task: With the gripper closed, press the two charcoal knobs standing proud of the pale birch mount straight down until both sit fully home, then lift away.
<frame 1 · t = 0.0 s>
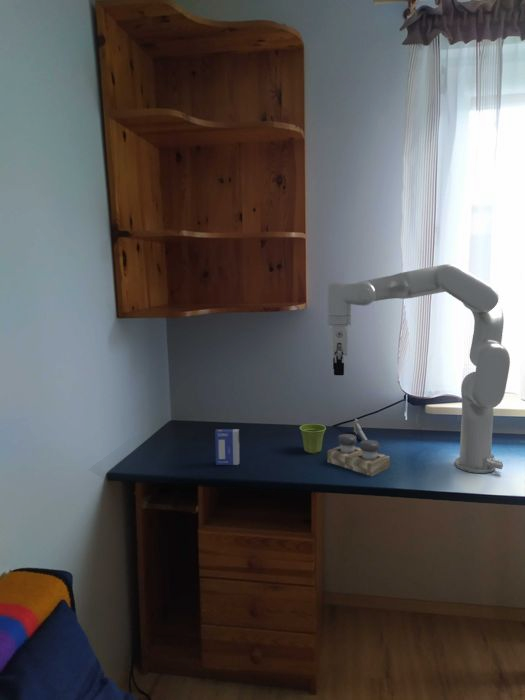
hand: (338, 372, 176), 31 cm above the table, tool pointing down, fingers open, 9 cm apart
blue upright box: (227, 464, 181), on the table
plant pot: (312, 451, 193), on the table
mount: (357, 464, 179), on the table
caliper: (362, 441, 204), on the table
knob near: (369, 452, 174), point 6 cm above the table, slide at 0.0 cm
knob far: (347, 445, 181), point 6 cm above the table, slide at 0.0 cm
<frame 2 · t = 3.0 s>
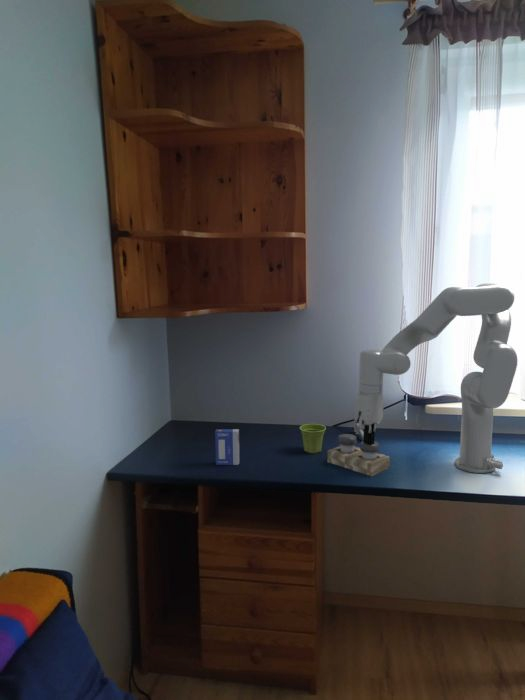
hand: (368, 443, 174), 9 cm above the table, tool pointing down, fingers closed
knob near: (369, 452, 175), point 5 cm above the table, slide at 0.2 cm, touching gripper
everything else where it was.
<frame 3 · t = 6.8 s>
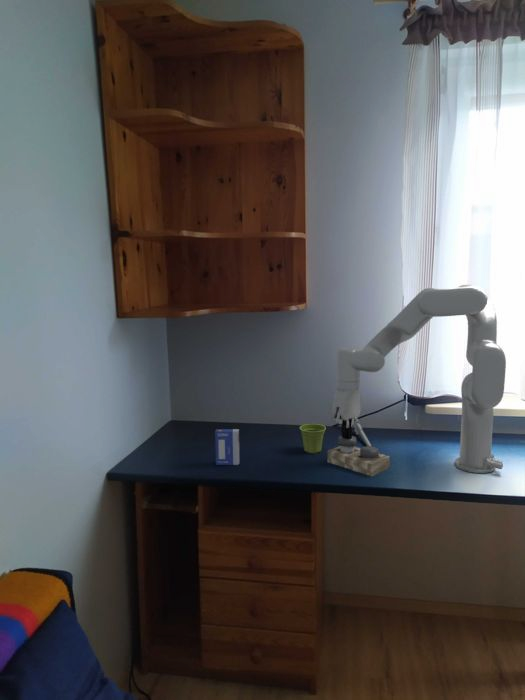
hand: (346, 437, 181), 8 cm above the table, tool pointing down, fingers closed
knob near: (369, 458, 175), point 3 cm above the table, slide at 2.2 cm
knob far: (347, 447, 181), point 5 cm above the table, slide at 0.5 cm, touching gripper
everything else where it was.
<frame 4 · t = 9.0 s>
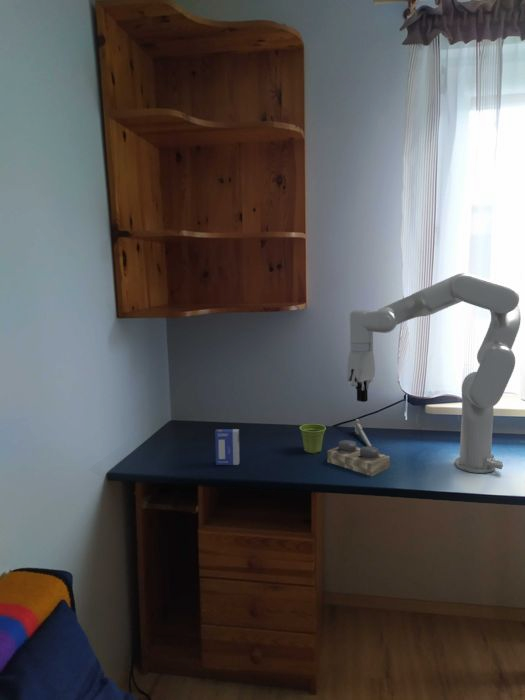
hand: (362, 400, 180), 21 cm above the table, tool pointing down, fingers closed
knob far: (347, 452, 181), point 3 cm above the table, slide at 2.2 cm
everything else where it was.
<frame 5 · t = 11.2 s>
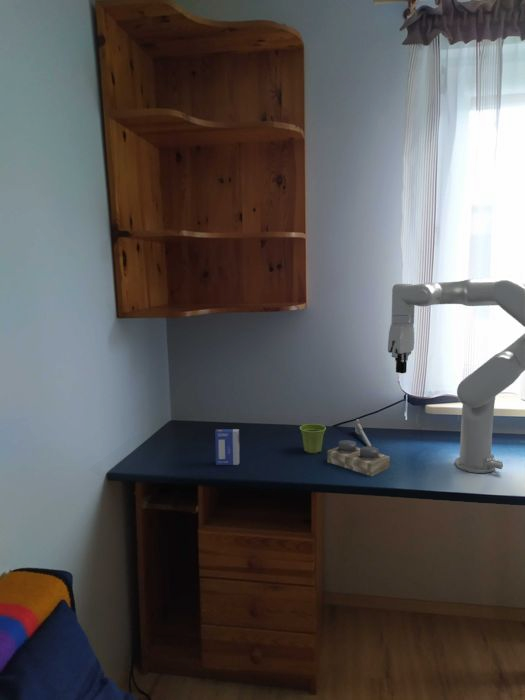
hand: (401, 372, 186), 29 cm above the table, tool pointing down, fingers closed
nothing on the table moved.
at the end: knob near slide at 2.2 cm; knob far slide at 2.2 cm; plant pot moved 0.2 cm from its start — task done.
